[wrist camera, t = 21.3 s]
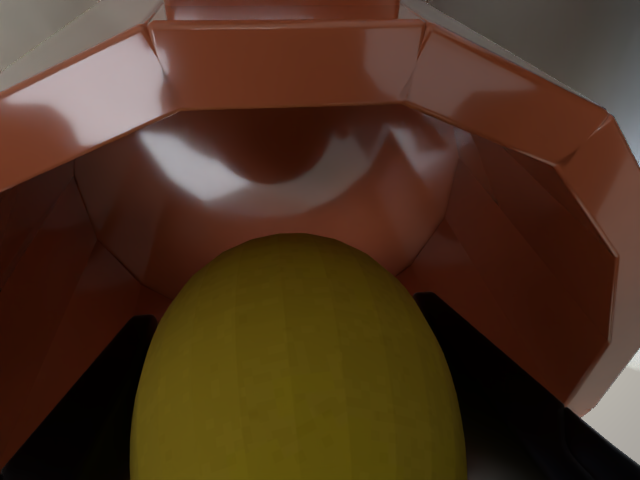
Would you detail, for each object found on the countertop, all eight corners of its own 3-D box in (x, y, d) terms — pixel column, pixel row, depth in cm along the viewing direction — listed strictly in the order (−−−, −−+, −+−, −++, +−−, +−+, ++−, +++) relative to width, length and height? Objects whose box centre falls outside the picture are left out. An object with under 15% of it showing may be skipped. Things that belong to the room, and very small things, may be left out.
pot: (573, -213, 9) (1244, -440, 3) (422, 350, 20) (495, 539, 14) (-127, -256, 7) (-1710, -900, 1) (136, 378, 18) (85, 602, 13)
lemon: (329, 115, 9) (529, 644, 3) (417, 279, 12) (597, 681, 6) (116, 234, 10) (-100, 805, 4) (250, 354, 13) (256, 760, 7)
